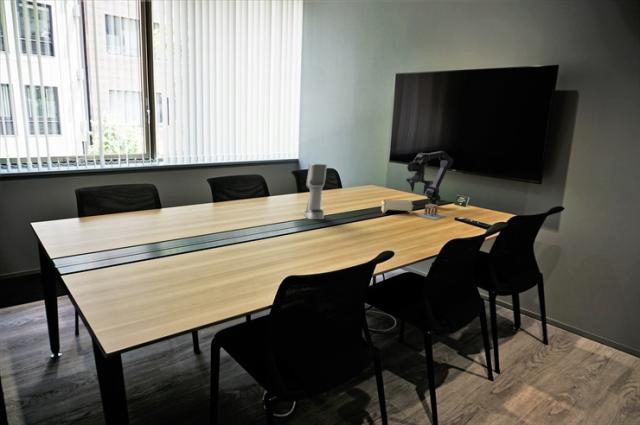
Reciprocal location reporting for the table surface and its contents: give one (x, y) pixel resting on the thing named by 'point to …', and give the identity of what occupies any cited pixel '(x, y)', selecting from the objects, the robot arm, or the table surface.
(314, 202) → the thermal camera
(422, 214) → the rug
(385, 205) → the toy sofa
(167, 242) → the table surface
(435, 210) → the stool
